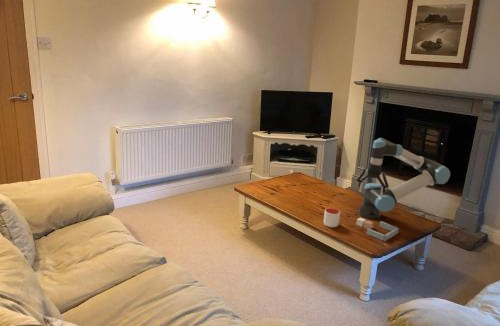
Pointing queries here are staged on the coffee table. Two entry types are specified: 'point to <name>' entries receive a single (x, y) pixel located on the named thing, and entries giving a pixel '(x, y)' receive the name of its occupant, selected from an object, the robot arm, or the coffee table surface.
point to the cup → (331, 217)
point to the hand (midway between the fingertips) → (370, 194)
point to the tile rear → (360, 222)
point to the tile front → (368, 224)
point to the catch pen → (380, 236)
